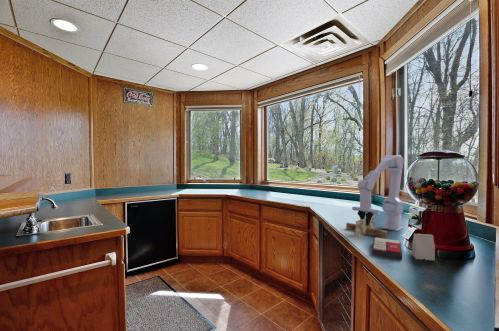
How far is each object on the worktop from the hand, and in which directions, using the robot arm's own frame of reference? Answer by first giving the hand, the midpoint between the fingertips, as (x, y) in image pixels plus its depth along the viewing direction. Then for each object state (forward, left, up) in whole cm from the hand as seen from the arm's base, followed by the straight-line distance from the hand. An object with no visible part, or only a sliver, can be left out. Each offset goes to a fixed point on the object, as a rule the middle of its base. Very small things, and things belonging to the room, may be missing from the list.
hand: (365, 224), depth 131 cm
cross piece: (0, 0, -5) cm, 5 cm away
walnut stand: (0, 0, -5) cm, 5 cm away
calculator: (+19, +19, -5) cm, 27 cm away
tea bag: (+14, +31, -5) cm, 34 cm away
